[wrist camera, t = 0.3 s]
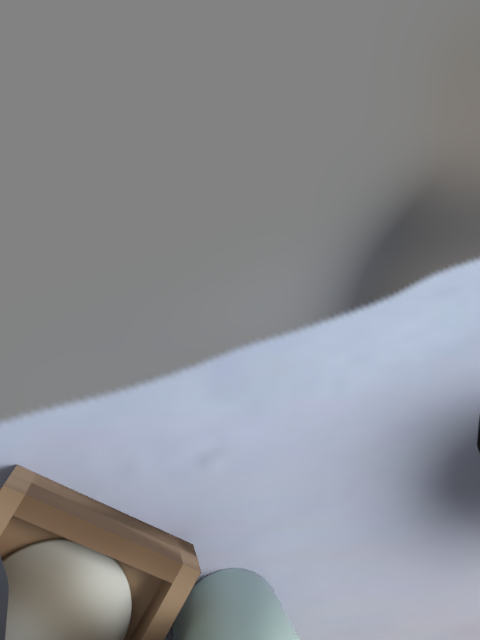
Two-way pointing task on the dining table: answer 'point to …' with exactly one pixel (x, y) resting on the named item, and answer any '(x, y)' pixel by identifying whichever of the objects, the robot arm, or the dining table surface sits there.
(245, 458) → the dining table surface
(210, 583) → the pale green rounded part
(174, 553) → the tray
